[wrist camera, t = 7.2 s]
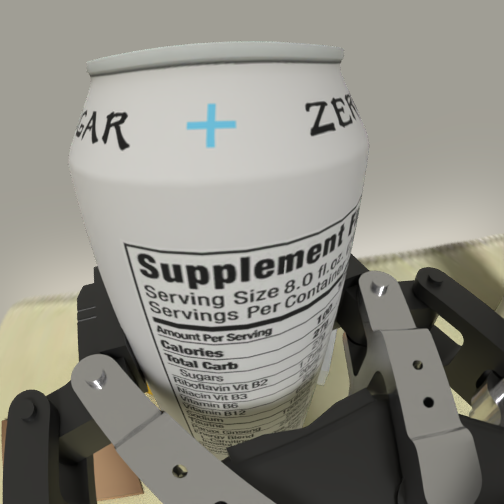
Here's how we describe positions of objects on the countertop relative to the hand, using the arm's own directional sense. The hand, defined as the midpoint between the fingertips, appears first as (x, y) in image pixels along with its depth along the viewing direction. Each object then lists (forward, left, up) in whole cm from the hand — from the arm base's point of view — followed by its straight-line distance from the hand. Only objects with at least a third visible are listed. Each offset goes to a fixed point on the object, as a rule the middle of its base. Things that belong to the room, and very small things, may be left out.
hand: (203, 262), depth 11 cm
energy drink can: (0, +2, -8) cm, 9 cm away
